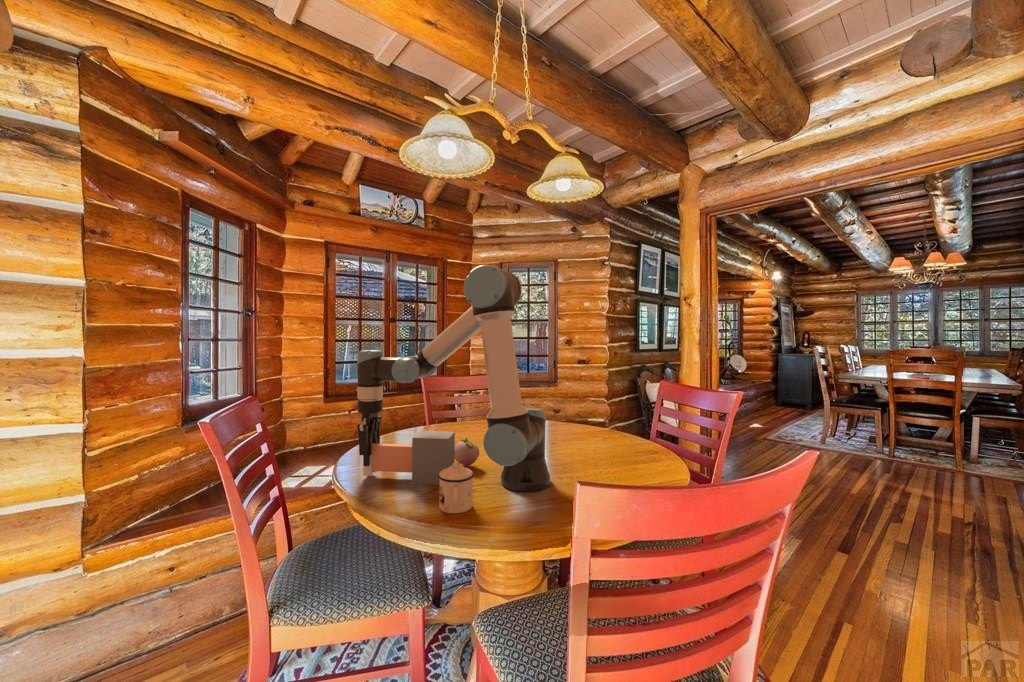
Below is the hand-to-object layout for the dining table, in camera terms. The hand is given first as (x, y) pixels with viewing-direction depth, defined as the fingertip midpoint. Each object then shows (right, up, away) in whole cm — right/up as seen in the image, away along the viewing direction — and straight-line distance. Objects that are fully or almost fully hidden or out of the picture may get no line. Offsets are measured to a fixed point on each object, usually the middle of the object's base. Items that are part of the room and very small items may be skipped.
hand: (369, 473), depth 130 cm
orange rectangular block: (+7, +1, 0) cm, 7 cm away
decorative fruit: (+29, -1, +10) cm, 31 cm away
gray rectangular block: (+20, -1, -1) cm, 20 cm away
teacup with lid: (+30, -2, -23) cm, 38 cm away
